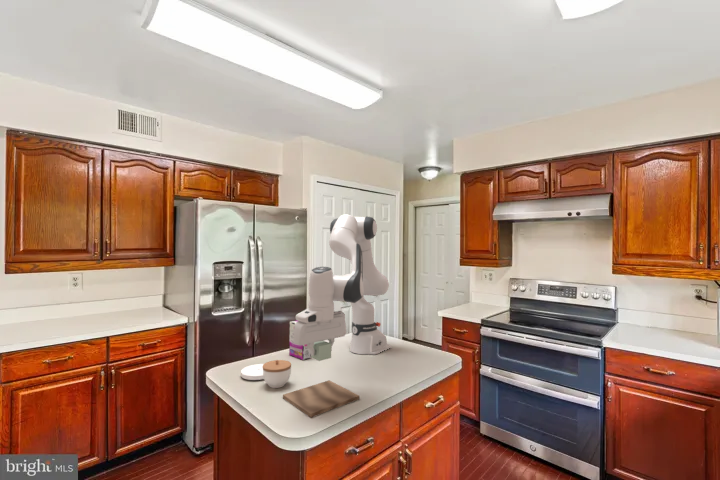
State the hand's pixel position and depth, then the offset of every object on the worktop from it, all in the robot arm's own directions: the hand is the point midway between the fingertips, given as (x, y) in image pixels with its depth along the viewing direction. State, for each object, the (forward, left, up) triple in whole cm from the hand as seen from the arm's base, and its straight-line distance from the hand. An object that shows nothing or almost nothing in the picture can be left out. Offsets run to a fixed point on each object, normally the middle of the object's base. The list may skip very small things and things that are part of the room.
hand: (321, 353), depth 122 cm
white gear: (+7, -35, -16) cm, 39 cm away
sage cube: (0, 0, -2) cm, 2 cm away
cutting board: (0, 0, -16) cm, 16 cm away
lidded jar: (+6, -21, -16) cm, 27 cm away
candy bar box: (-18, -44, -16) cm, 50 cm away
